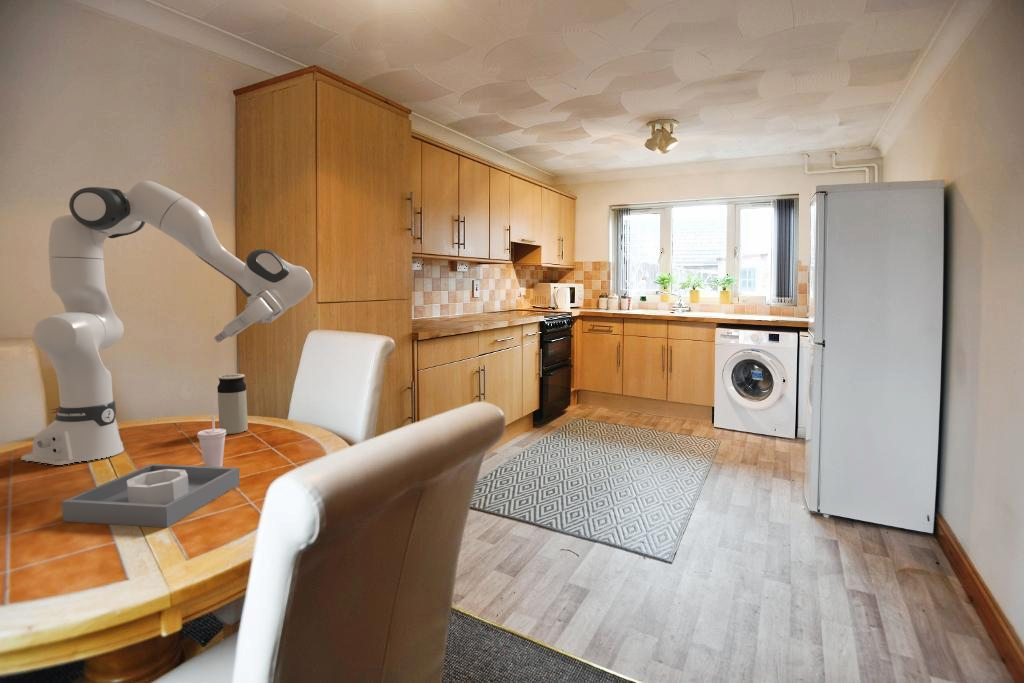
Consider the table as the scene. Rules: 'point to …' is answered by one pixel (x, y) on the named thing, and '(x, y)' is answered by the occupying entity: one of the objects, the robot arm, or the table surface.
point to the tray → (149, 513)
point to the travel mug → (232, 403)
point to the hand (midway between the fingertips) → (220, 336)
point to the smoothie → (212, 445)
